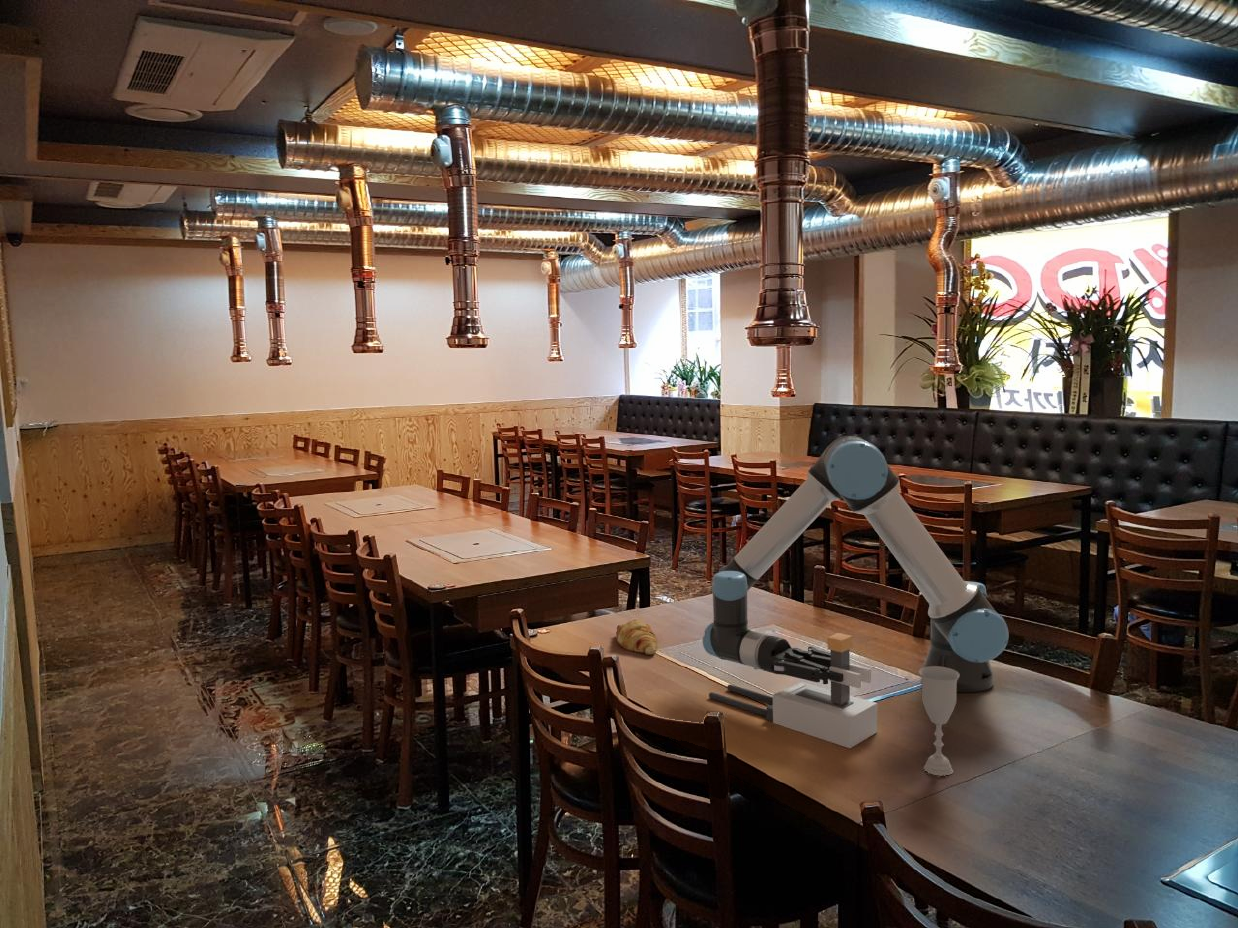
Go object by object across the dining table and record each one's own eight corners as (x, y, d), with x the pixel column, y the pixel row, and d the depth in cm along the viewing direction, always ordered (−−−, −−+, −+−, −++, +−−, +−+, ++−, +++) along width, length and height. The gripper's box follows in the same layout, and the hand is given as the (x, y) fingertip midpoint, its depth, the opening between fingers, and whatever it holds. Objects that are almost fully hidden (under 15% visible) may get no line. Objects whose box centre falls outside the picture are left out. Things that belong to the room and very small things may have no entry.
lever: (828, 701, 173) (827, 637, 172) (838, 696, 176) (838, 632, 174) (842, 705, 171) (841, 640, 170) (852, 700, 174) (852, 635, 172)
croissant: (664, 668, 225) (676, 639, 226) (633, 656, 221) (645, 627, 221) (628, 644, 244) (639, 618, 245) (598, 633, 240) (610, 606, 240)
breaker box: (773, 722, 180) (772, 693, 179) (801, 708, 187) (801, 680, 186) (850, 748, 167) (849, 717, 166) (877, 732, 174) (877, 702, 173)
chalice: (962, 780, 153) (963, 681, 151) (921, 778, 154) (921, 679, 152) (954, 761, 160) (955, 666, 158) (915, 759, 161) (916, 665, 159)
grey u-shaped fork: (705, 699, 194) (705, 687, 194) (731, 688, 200) (731, 677, 200) (774, 722, 180) (774, 709, 180) (799, 709, 186) (799, 697, 186)
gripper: (789, 660, 192) (886, 685, 175) (743, 679, 181) (842, 709, 164) (788, 626, 191) (886, 649, 174) (742, 644, 180) (841, 670, 163)
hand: (864, 678), depth 169 cm, fingers closed on lever, 3 cm apart
